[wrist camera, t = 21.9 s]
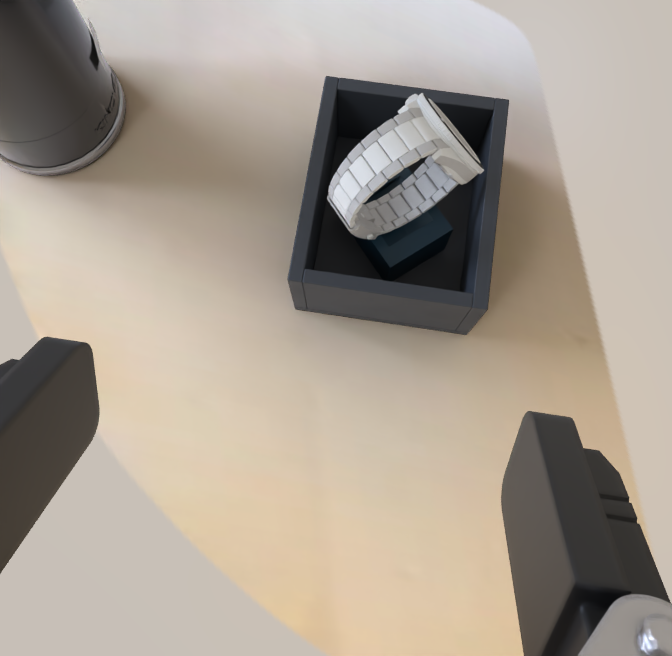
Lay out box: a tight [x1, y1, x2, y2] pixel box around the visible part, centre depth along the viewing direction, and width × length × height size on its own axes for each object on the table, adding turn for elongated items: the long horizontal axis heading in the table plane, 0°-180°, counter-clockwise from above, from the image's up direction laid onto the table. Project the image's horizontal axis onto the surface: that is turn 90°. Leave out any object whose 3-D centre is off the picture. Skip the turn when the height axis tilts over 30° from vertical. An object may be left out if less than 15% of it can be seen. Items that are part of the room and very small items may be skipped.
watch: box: [327, 93, 484, 281], centre depth 33 cm, size 6×8×11 cm
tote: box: [288, 76, 509, 335], centre depth 37 cm, size 11×13×6 cm
